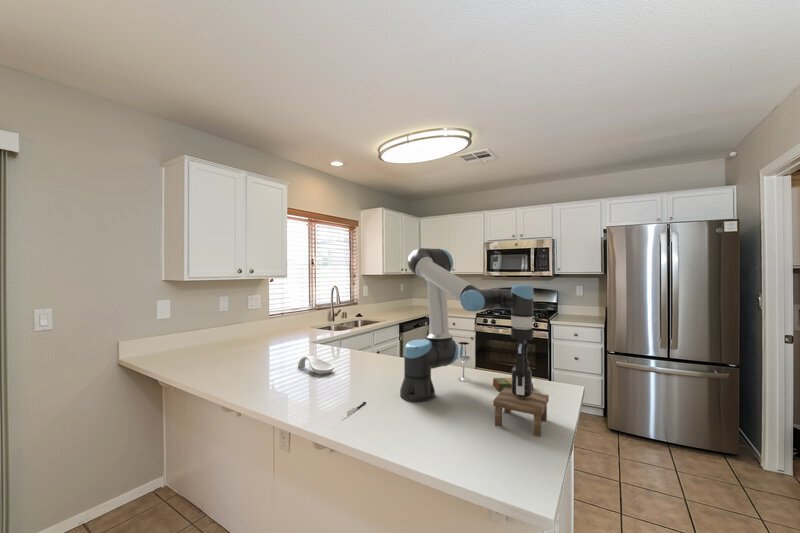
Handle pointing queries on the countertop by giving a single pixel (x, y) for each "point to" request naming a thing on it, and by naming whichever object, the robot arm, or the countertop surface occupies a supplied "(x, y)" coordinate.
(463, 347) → the wineglass
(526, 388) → the supplement bottle
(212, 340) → the countertop surface
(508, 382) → the carton
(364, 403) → the chef's knife
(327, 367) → the spoon rest
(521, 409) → the footstool
